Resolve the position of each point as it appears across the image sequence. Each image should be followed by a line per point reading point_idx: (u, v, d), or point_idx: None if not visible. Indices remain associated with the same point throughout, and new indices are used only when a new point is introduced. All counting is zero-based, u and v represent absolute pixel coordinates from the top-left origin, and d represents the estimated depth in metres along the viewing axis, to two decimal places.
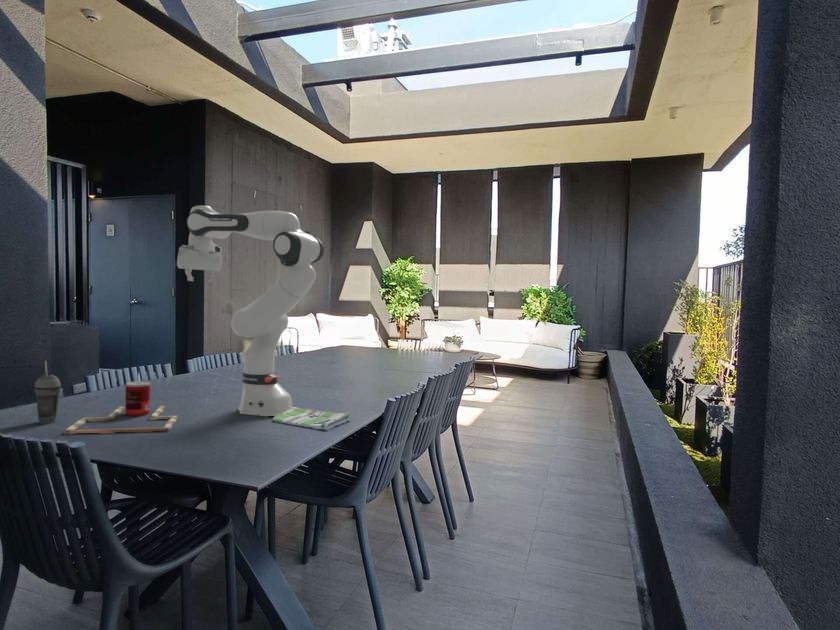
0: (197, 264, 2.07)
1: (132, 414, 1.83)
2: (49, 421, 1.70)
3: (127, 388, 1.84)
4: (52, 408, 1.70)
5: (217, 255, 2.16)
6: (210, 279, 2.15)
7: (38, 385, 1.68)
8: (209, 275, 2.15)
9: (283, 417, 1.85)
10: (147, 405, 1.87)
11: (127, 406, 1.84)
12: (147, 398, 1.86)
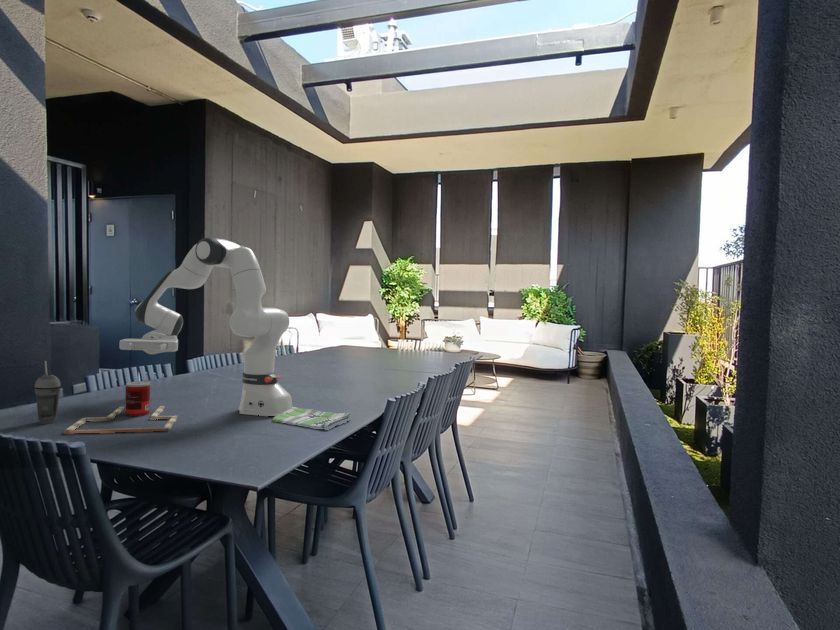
0: (140, 340, 2.01)
1: (132, 414, 1.83)
2: (49, 421, 1.70)
3: (127, 388, 1.84)
4: (52, 408, 1.70)
5: (170, 338, 2.08)
6: (160, 345, 1.98)
7: (38, 385, 1.68)
8: None
9: (283, 417, 1.85)
10: (147, 405, 1.87)
11: (127, 406, 1.84)
12: (147, 398, 1.86)
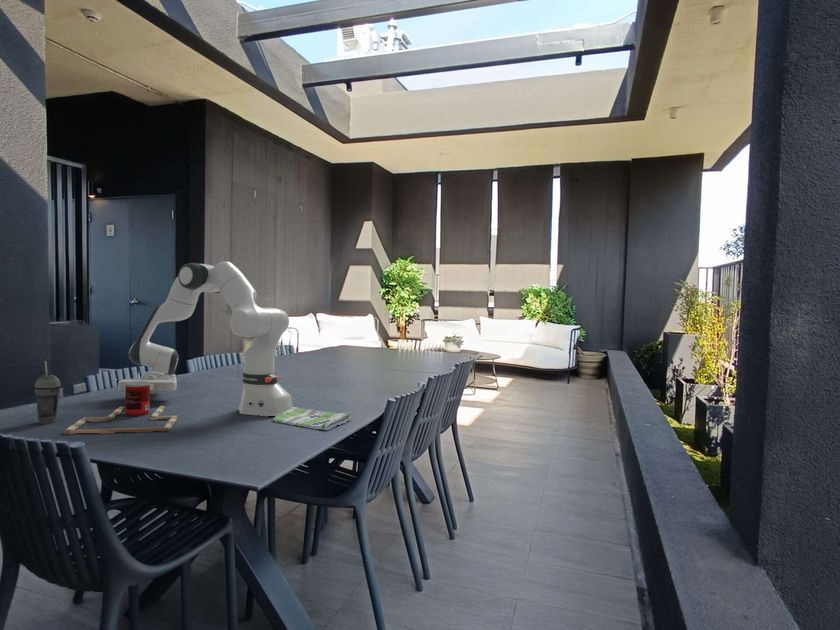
0: (139, 380, 2.02)
1: (132, 414, 1.83)
2: (49, 421, 1.70)
3: (127, 388, 1.84)
4: (52, 408, 1.70)
5: (169, 377, 2.09)
6: None
7: (38, 385, 1.68)
8: None
9: (283, 417, 1.85)
10: (147, 405, 1.87)
11: (127, 406, 1.84)
12: (147, 398, 1.86)
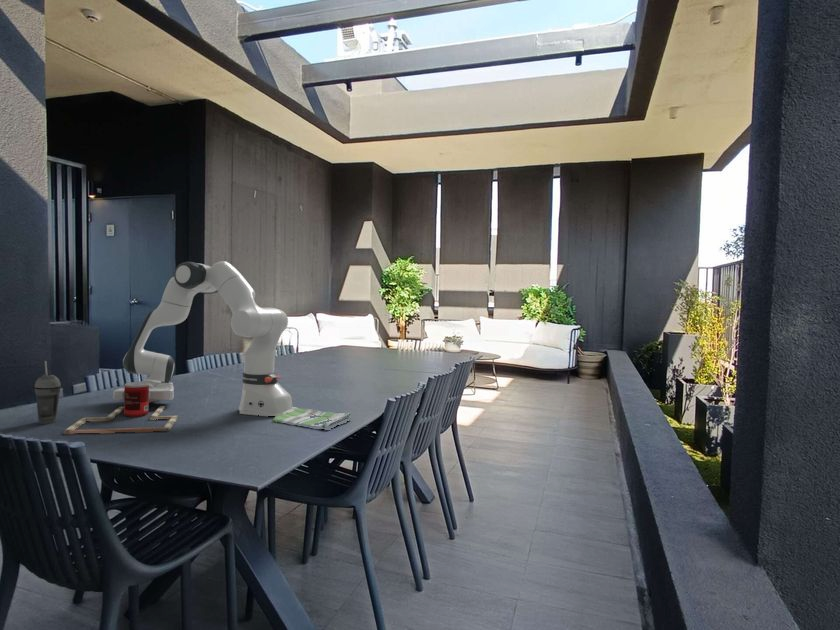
0: None
1: (131, 415, 1.82)
2: (49, 421, 1.70)
3: (126, 389, 1.82)
4: (52, 408, 1.70)
5: (166, 385, 2.02)
6: None
7: (38, 385, 1.68)
8: None
9: (284, 417, 1.85)
10: (146, 406, 1.85)
11: (126, 407, 1.82)
12: (146, 399, 1.85)
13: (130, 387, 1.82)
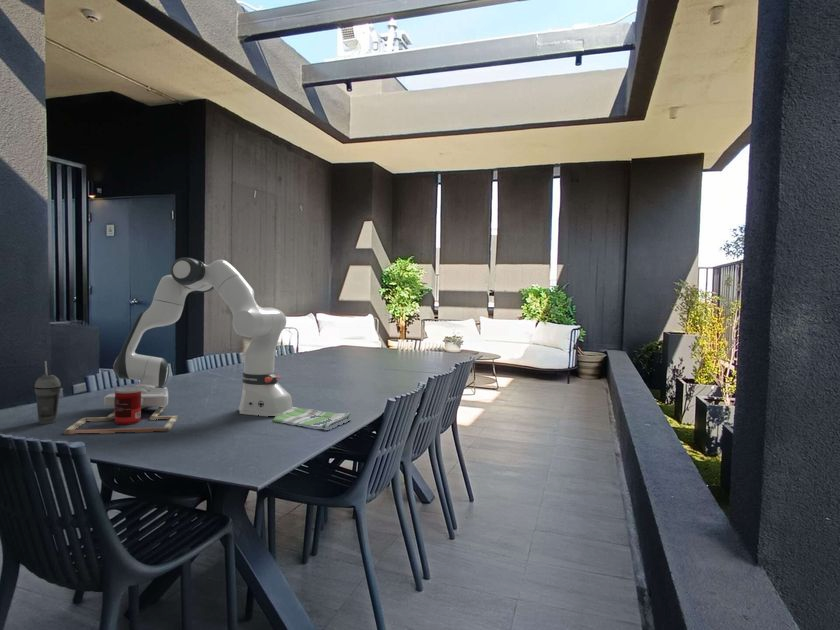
0: None
1: (121, 422, 1.72)
2: (49, 421, 1.70)
3: (116, 394, 1.72)
4: (52, 408, 1.70)
5: (160, 390, 1.92)
6: None
7: (38, 385, 1.68)
8: None
9: (284, 417, 1.85)
10: (138, 413, 1.75)
11: (116, 414, 1.73)
12: (138, 405, 1.75)
13: (120, 393, 1.72)
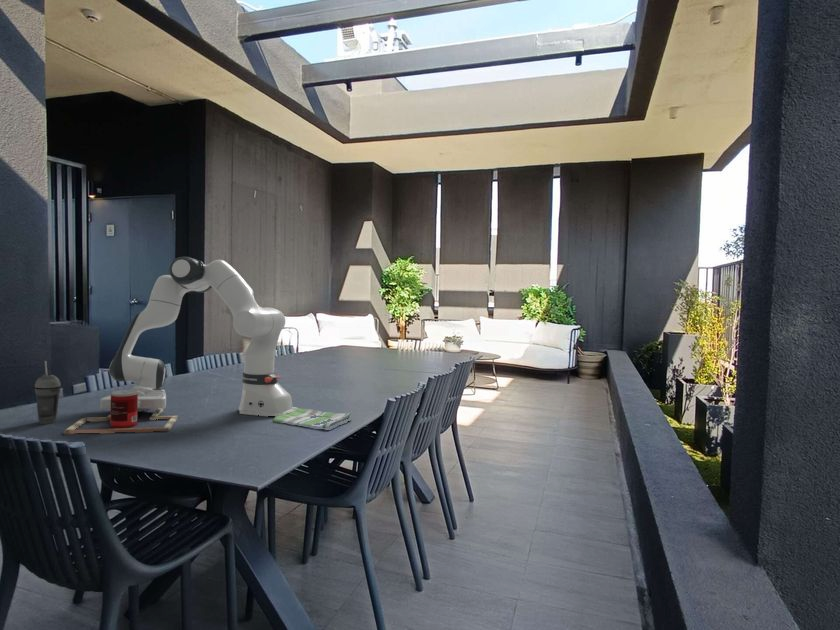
0: None
1: (117, 426, 1.68)
2: (49, 421, 1.70)
3: (112, 398, 1.68)
4: (52, 408, 1.70)
5: (158, 393, 1.88)
6: None
7: (38, 385, 1.68)
8: None
9: (284, 417, 1.85)
10: (134, 416, 1.71)
11: (112, 417, 1.68)
12: (134, 409, 1.71)
13: (116, 396, 1.67)
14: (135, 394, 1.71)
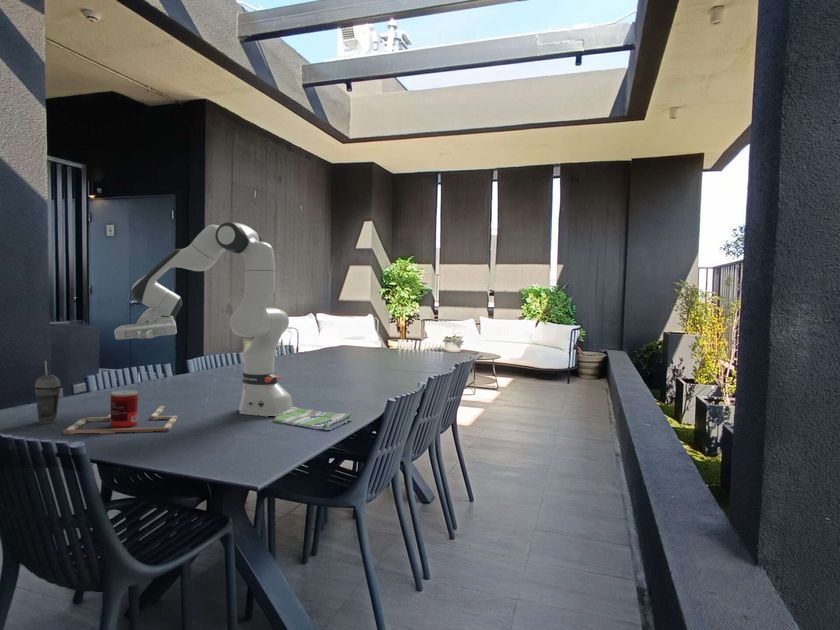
0: (136, 327, 1.90)
1: (117, 426, 1.68)
2: (49, 421, 1.70)
3: (112, 398, 1.68)
4: (52, 408, 1.70)
5: (167, 319, 1.97)
6: (145, 332, 1.86)
7: (38, 385, 1.68)
8: None
9: (284, 417, 1.85)
10: (134, 416, 1.71)
11: (112, 417, 1.68)
12: (134, 409, 1.71)
13: (116, 396, 1.67)
14: (135, 394, 1.71)
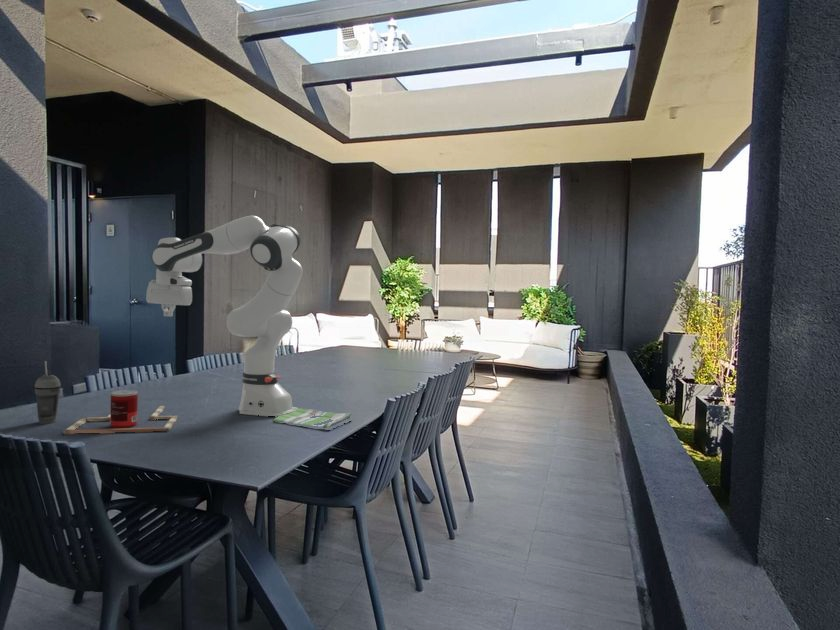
0: (158, 298, 2.01)
1: (117, 426, 1.68)
2: (49, 421, 1.70)
3: (112, 398, 1.68)
4: (52, 408, 1.70)
5: (176, 288, 1.96)
6: (168, 313, 2.00)
7: (38, 385, 1.68)
8: None
9: (285, 418, 1.85)
10: (134, 416, 1.71)
11: (112, 417, 1.68)
12: (134, 409, 1.71)
13: (116, 396, 1.67)
14: (135, 394, 1.71)
